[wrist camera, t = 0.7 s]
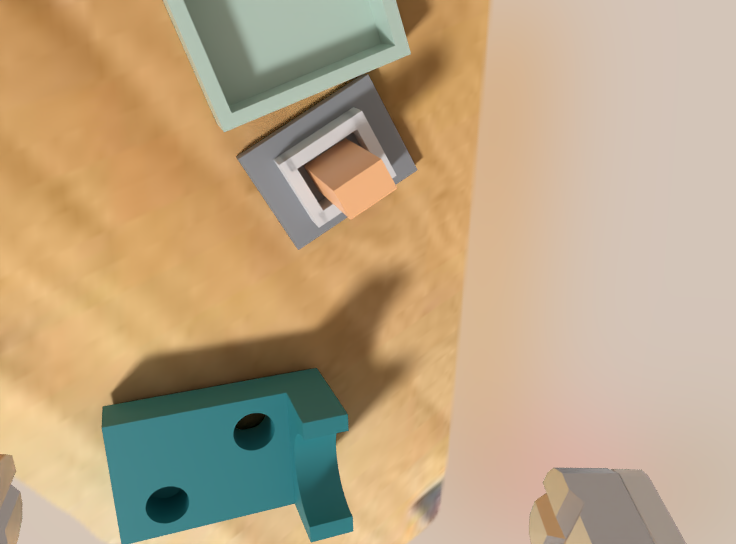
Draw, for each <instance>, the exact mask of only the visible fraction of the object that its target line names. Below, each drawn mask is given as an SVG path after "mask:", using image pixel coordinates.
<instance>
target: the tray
mask: <svg viewBox="0 0 736 544" xmlns="http://www.w3.org/2000/svg"><path fill="white" fill-rule="evenodd" d="M163 2H164V5H165V7H166V9H167V11H168V14H169V16H170V18H171V20H172V23H173V25H174V27H175V29H176V32H177V34H178V36H179V39H180V41H181V43H182V45H183V48H184V50H185V52H186V54H187V57H188V59H189V61H190V64H191V66H192V68H193V70H194V73H195V75H196V77H197V79H198V82H199V84H200V86H201V89H202V91H203V93H204V95H205V98H206V100H207V102H208V104H209V107H210V109H211V111H212V113H213V116H214V118H215V120H216V123H217V124H218V126H219V127H220V128H221V129H222V130H223V131H224V132H226V131H228V130H231V129H233V128H235V127H238V126H240V125H243V124H245V123H247V122H250V121H252V120H255V119H257V118H259V117H262V116H264V115H266V114H269V113H271V112H274V111H276V110H278V109H281V108H283V107H286V106H288V105H290V104H293V103H295V102H297V101H300V100H302V99H305V98H307V97H309V96H312V95H314V94H317V93H319V92H321V91H324V90H326V89H329V88H331V87H333V86H336V85H338V84H340V83H343V82H345V81H348V80H350V79H352V78H355V77H357V76H360V75H362V74H364V73H367V72H369V71H371V70H374V69H376V68H379V67H381V66H383V65H386V64H388V63H391V62H393V61H395V60H398V59H400V58H402V57H405V56H407V55H410V54H411V52H410V49H409V45H408V42H407V38H406V35H405V31H404V27H403V24H402V20H401V17H400V13H399V10H398V6H397V3H396V0H163Z"/></svg>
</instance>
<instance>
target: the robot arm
mask: <svg viewBox="0 0 736 544" xmlns="http://www.w3.org/2000/svg"><path fill="white" fill-rule="evenodd" d="M15 473H16V469H15V465H14V461H13V457H12V455H5V454H0V544H16V543H17V540H18V537H19V531H20V527H21V522H22V499H21V493H20V491H19V490H17V489H16V488H15V487H13V486H12V485H11V482H12V480H13V477H14V475H15ZM543 484H544V487H545V490H546V494H544V495H543V496H541V497H540V498H538V499H537V500H536V501H535V502H534V505H533V507H532V510H531V513H530V519H529V535H530V542H531V544H686V542H685V541H684V539H683V537H682V535H681V533H680V532H679V530H678V528H677V526H676V524H675V523H674V521H673V519H672V517H671V516H670V514H669V512H668V510H667V508H666V507H665V505H664V503H663V501H662V499H661V498H660V496H659V494H658V492H657V490H656V489H655V487H654V485H653V483H652V481H651V480H650V478H649V476H648V475H647V474H646V473H645V472H644V471H642V470H630V469H608V468H553V469H552V470H550V471H549V472H548V473H547V475H546V477H545V479H544V481H543Z"/></svg>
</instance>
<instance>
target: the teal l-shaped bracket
mask: <svg viewBox="0 0 736 544" xmlns="http://www.w3.org/2000/svg"><path fill="white" fill-rule="evenodd" d="M252 413H262V414H265V417H264V419H263V420H262V422H261V423H260V424H259V425H257V426H256V427H254V428H249V429H244V430H240V429H237V428H235V426H236V424H237V423H238V421H239V420H240V419H242V418H243V417H244V416H246V415H249V414H252ZM345 431H349V429H348V414H347V412H346V411H345V409H344V408H343V406H342V405H341V403H340V402H339V400H338V399H337V397H336V396H335V394H334V393H333V391H332V390H331V388H330V387H329V385H328V384H327V383H326V381H325V380H324V378H323V377H322V375H321V374H320V372H319V371H318V369H317V368H313V369H308V370H302V371H297V372H291V373H286V374H280V375H275V376H269V377H263V378H258V379H252V380H247V381H241V382H236V383H230V384H225V385H219V386H214V387H208V388H203V389H197V390H192V391H186V392H180V393H175V394H169V395H164V396H158V397H153V398H147V399H142V400H136V401H131V402H125V403H120V404H114V405H108V406H103V411H102V432H103V438H104V444H105V450H106V456H107V462H108V468H109V473H110V479H111V485H112V491H113V497H114V503H115V509H116V515H117V520H118V526H119V532H120V538H121V544H131V543H135V542H139V541H143V540H147V539H151V538H155V537H159V536H163V535H168V534H172V533H176V532H180V531H184V530H188V529H192V528H196V527H200V526H205V525H209V524H213V523H217V522H221V521H225V520H229V519H233V518H237V517H241V516H246V515H250V514H254V513H258V512H262V511H266V510H270V509H274V508H278V507H283V506H287V505H291V504H295V505H296V507H297V510H298V512H299V515H300V517H301V520H302V522H303V524H304V527H305V529H306V532H307V534H308V537H309V539H310V541H311V542H314V541H318V540H322V539H326V538H330V537H333V536H337V535H341V534H345V533H348V532H352V531H353V516H352V514H351V512H350V510H349V507H348V505H347V502H346V499H345V496H344V492H343V489H342V485H341V480H340V476H339V470H338V464H337V455H336V433H340V432H345Z"/></svg>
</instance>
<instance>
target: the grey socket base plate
mask: <svg viewBox="0 0 736 544" xmlns="http://www.w3.org/2000/svg"><path fill="white" fill-rule="evenodd" d="M345 138H346V139H348V140H350V141H351V142H353V143H355V144H357V145H358V146H360V147H362V148H363V149H365V150H367V151H369V152H370V153H372V154H374V155H376V156H377V157H379V158H381V159H382V161H383V163H384V164H385V166H386V168H387V170H388V172H389V174H390V176H391V177H392V179H393V181H394V183H395V185H396V184H397V183H399V182H400V181H402V180H403V179H405V178H406V177H408V176H409V175H411V174H412V173H414V172H415V171H417V168H416V166H415V164H414V162H413V160H412V158H411V156H410V154H409V153H408V151H407V149H406V147H405V145H404V143H403V141H402V139H401V137H400V135H399V133H398V131H397V129H396V127H395V125H394V123H393V121H392V120H391V118H390V116H389V114H388V112H387V110H386V108H385V106H384V104H383V102H382V100H381V98H380V96H379V94H378V92H377V90H376V88H375V87H374V85H373V83H372V81H371V79H370V77H369V75H368V74H365V73H364V74H362V75H361V76H359V77H358V78H356V79H355V80H353V81H351V82H350V83H348V84H347V85H345V86H344V87H342V88H341V89H339V90H338V91H336V92H335V93H333V94H332V95H330V96H328V97H327V98H325V99H324V100H322V101H321V102H319V103H318V104H316V105H315V106H313V107H312V108H310V109H308V110H307V111H305V112H304V113H302V114H301V115H299V116H298V117H296V118H295V119H293V120H292V121H290V122H289V123H287V124H285V125H284V126H282V127H281V128H279V129H278V130H276V131H275V132H273V133H272V134H270V135H269V136H267V137H265V138H264V139H262V140H261V141H259V142H258V143H256V144H255V145H253V146H252V147H250V148H249V149H247V150H246V151H244V152H242V153H241V154H239V155H238V156H236V158H237V159H238V161H239V162H240V164H241V165H242V167H243V168H244V170H245V171H246V173H247V174H248V176H249V177H250V179H251V180H252V182H253V183H254V185H255V186H256V188H257V189H258V191H259V192H260V194H261V195H262V197H263V198H264V200H265V201H266V203H267V204H268V206H269V207H270V209H271V210H272V212H273V213H274V215H275V216H276V218H277V219H278V221H279V222H280V224H281V225H282V227H283V228H284V230H285V231H286V233H287V234H288V236H289V237H290V239H291V240H292V242H293V243H294V245H295V246H296V247H297V249H298V250H299V249H301V248H302V247H304V246H305V245H307V244H308V243H310V242H311V241H313V240H314V239H316V238H317V237H319V236H320V235H322V234H323V233H325V232H326V231H328V230H329V229H331V228H332V227H334V226H335V225H337V224H338V223H339V222H341V221H342V220H344V219H345V218H347V216H346V215H345V214H344V213H343V212H342V211H340V210H339V209H338V208H337V207H336V206H335V205H334V204H333V203H332V202H330V201H329V200H328V199H327V198H326V197H325V196H324V195H323V194H322V193H321V192H319V190H318V188H317V187H316V185H315V183H314V182H313V180H312V179H311V177H310V175H309V174H308V172H307V170H306V169H305V167H304V165H306V164H307V163H309V162H310V161H312V160H313V159H315V158H316V157H318V156H319V155H321V154H322V153H324V152H325V151H327V150H328V149H330V148H331V147H333V146H334V145H336V144H337V143H339V142H340V141H342V140H344V139H345Z"/></svg>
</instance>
